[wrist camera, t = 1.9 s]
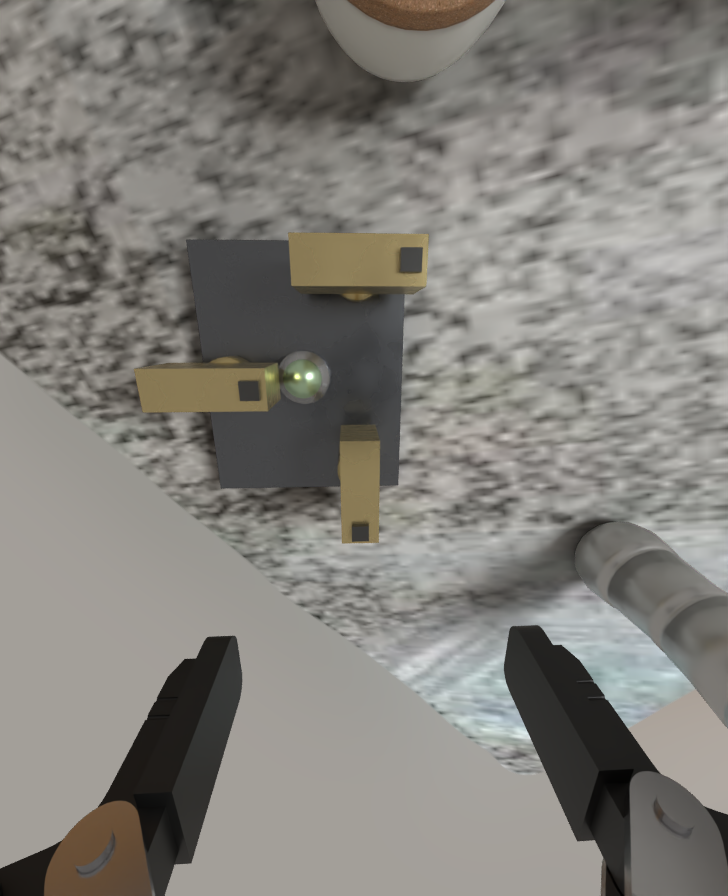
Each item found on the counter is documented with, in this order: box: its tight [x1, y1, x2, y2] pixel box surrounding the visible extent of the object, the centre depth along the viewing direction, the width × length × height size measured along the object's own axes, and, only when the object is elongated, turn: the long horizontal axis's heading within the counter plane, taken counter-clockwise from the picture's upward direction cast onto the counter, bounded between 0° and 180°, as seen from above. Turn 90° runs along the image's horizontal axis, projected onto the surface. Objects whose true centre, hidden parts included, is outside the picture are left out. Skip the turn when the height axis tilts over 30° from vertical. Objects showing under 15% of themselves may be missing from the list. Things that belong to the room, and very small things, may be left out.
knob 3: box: [338, 425, 380, 543], centre depth 22 cm, size 6×3×6 cm, turn 0°
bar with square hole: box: [134, 356, 281, 412], centre depth 20 cm, size 6×3×6 cm, turn 90°
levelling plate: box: [186, 240, 404, 488], centre depth 24 cm, size 16×13×3 cm
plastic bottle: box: [575, 522, 728, 728], centre depth 21 cm, size 6×7×20 cm
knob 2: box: [288, 233, 429, 302], centre depth 19 cm, size 6×3×6 cm, turn 90°
